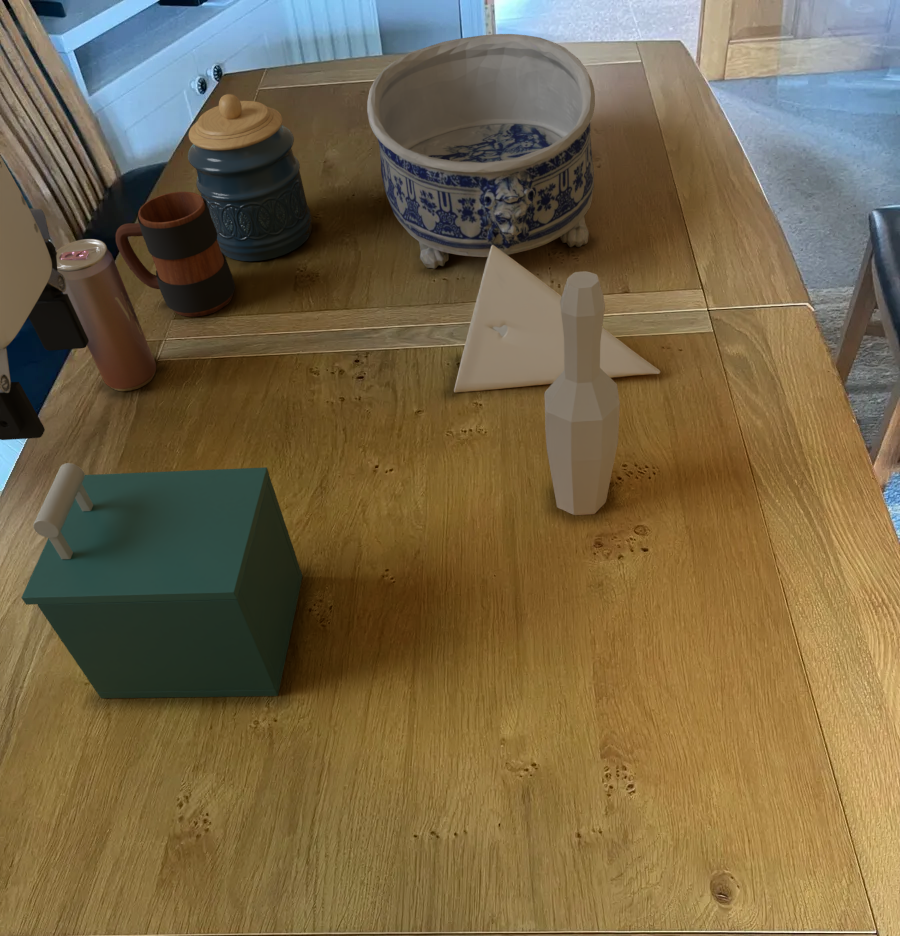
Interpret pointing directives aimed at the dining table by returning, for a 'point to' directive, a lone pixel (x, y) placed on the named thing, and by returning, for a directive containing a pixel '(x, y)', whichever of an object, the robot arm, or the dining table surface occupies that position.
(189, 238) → the mug
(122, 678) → the cool box
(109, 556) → the cool box lid
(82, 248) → the beverage can
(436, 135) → the decorative bowl
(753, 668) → the dining table surface
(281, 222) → the canister
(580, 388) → the low poly bottle
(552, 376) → the drafting triangle
